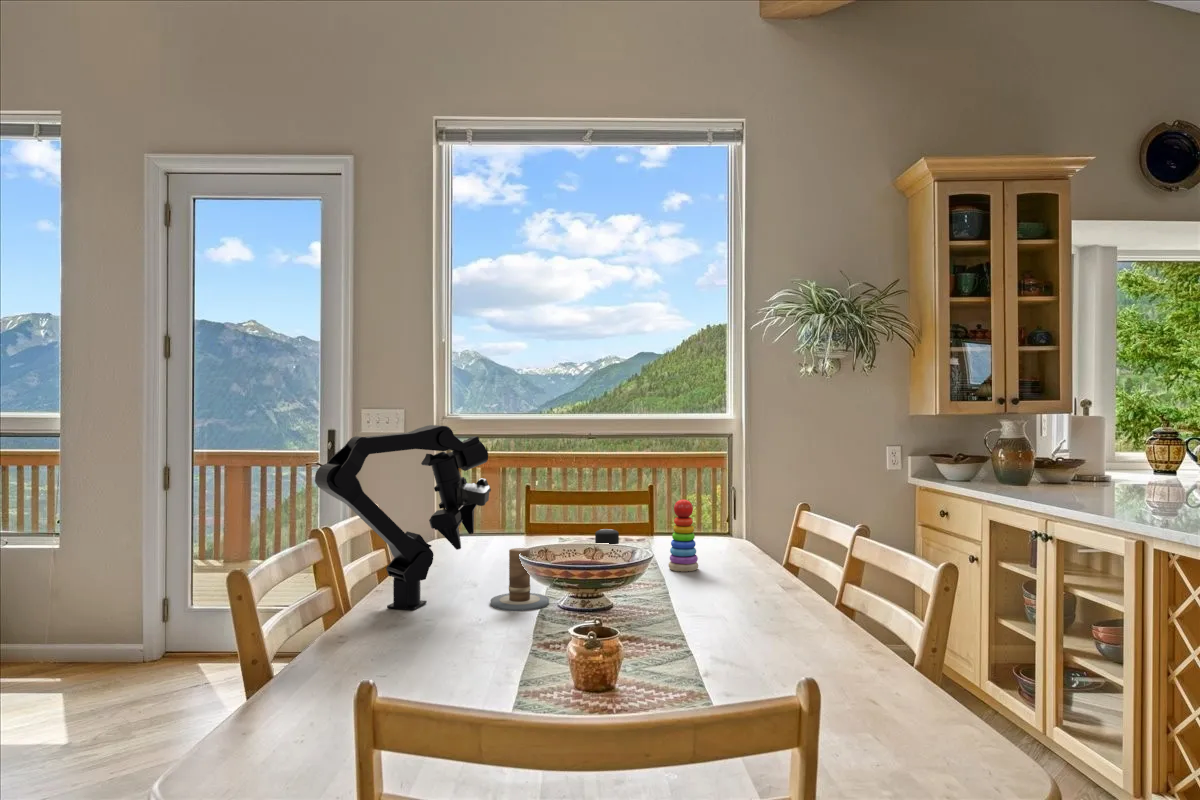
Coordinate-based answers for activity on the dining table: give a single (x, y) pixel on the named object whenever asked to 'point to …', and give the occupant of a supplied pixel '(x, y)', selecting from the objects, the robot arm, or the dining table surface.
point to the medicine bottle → (607, 536)
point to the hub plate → (506, 604)
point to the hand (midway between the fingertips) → (465, 541)
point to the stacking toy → (683, 539)
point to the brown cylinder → (518, 576)
